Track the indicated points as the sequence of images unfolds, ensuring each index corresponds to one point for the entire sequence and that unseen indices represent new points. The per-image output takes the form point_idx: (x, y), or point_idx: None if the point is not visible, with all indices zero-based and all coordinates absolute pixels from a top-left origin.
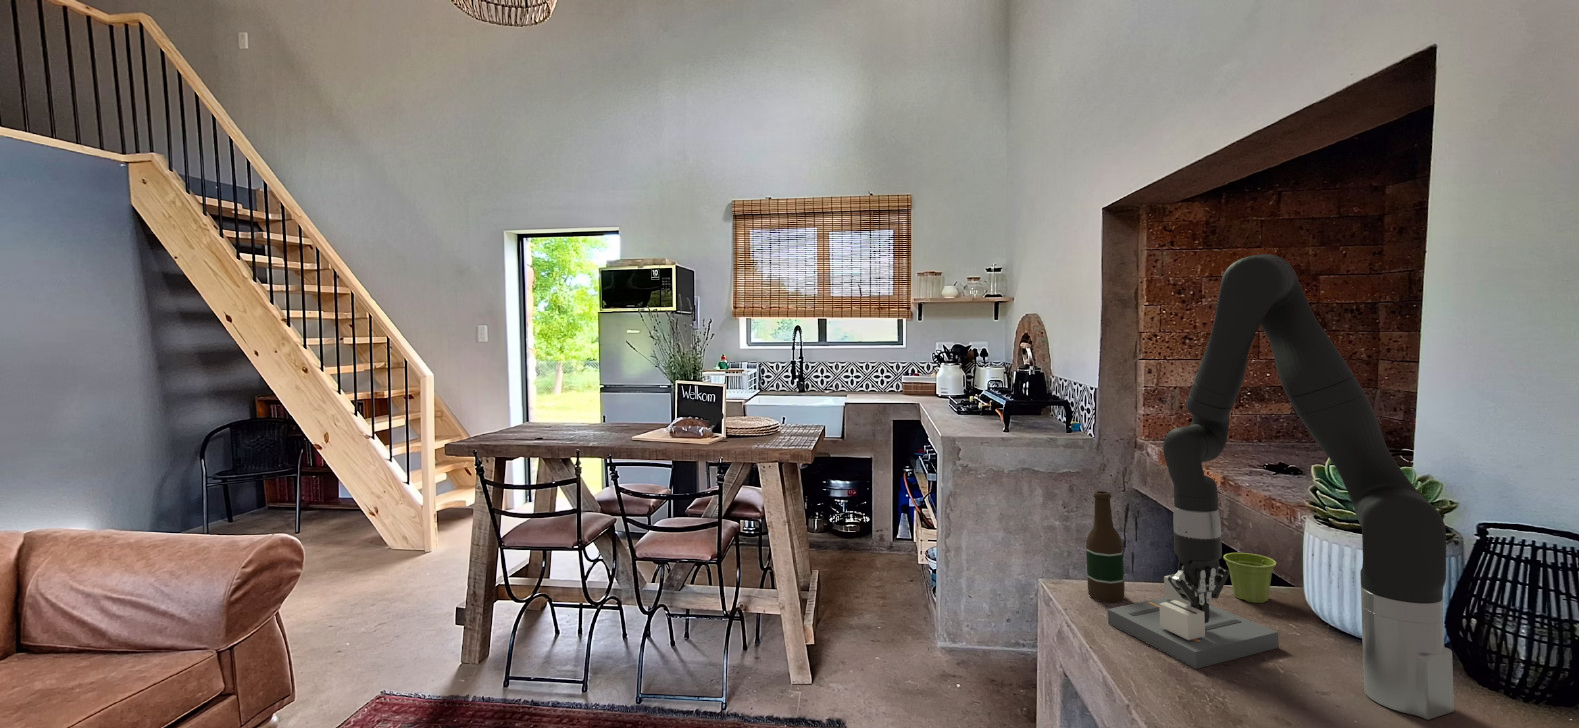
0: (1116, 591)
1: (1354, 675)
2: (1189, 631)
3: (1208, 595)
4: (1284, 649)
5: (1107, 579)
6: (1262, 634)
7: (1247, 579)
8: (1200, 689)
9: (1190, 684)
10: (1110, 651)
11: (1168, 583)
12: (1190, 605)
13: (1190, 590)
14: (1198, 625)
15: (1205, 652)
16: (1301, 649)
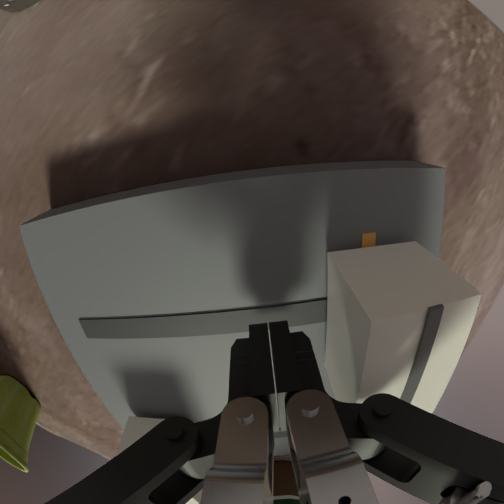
0: (273, 480)
1: (18, 49)
2: (428, 256)
3: (246, 444)
4: (43, 198)
5: (294, 502)
6: (67, 219)
7: (7, 420)
8: (466, 82)
9: (471, 109)
10: (481, 302)
11: (201, 491)
12: None
13: (439, 458)
14: (388, 272)
15: (398, 166)
16: (13, 190)
